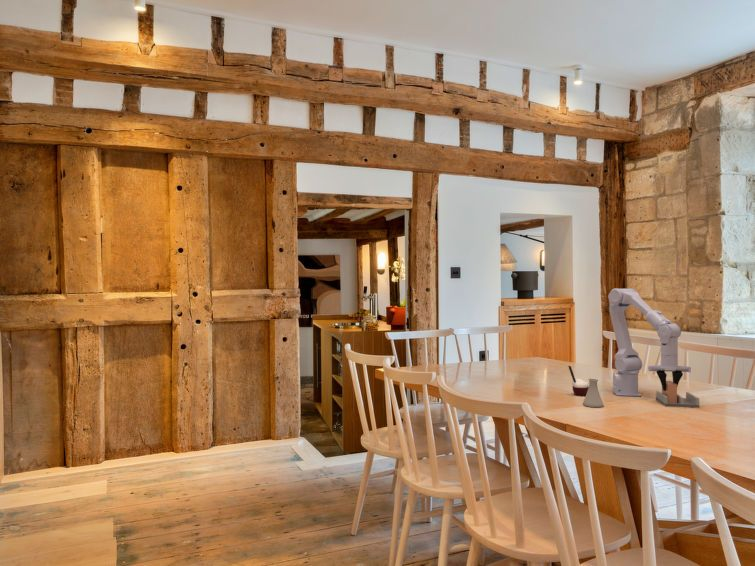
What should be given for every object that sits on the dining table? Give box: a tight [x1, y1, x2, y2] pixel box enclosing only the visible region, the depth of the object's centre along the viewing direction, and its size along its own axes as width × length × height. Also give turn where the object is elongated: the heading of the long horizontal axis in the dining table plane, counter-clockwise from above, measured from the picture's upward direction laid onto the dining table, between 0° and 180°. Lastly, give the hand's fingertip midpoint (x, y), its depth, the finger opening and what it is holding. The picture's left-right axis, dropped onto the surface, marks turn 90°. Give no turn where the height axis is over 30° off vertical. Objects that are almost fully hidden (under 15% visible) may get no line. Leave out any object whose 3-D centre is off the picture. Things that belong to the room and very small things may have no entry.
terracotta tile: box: [661, 380, 678, 403], centre depth 213 cm, size 8×3×7 cm, turn 168°
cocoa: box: [568, 365, 589, 397], centre depth 229 cm, size 10×6×12 cm, turn 77°
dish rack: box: [655, 390, 700, 409], centre depth 212 cm, size 12×12×4 cm
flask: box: [582, 378, 605, 408], centre depth 209 cm, size 7×7×10 cm
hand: (669, 390), depth 213 cm, fingers closed on terracotta tile, 3 cm apart
